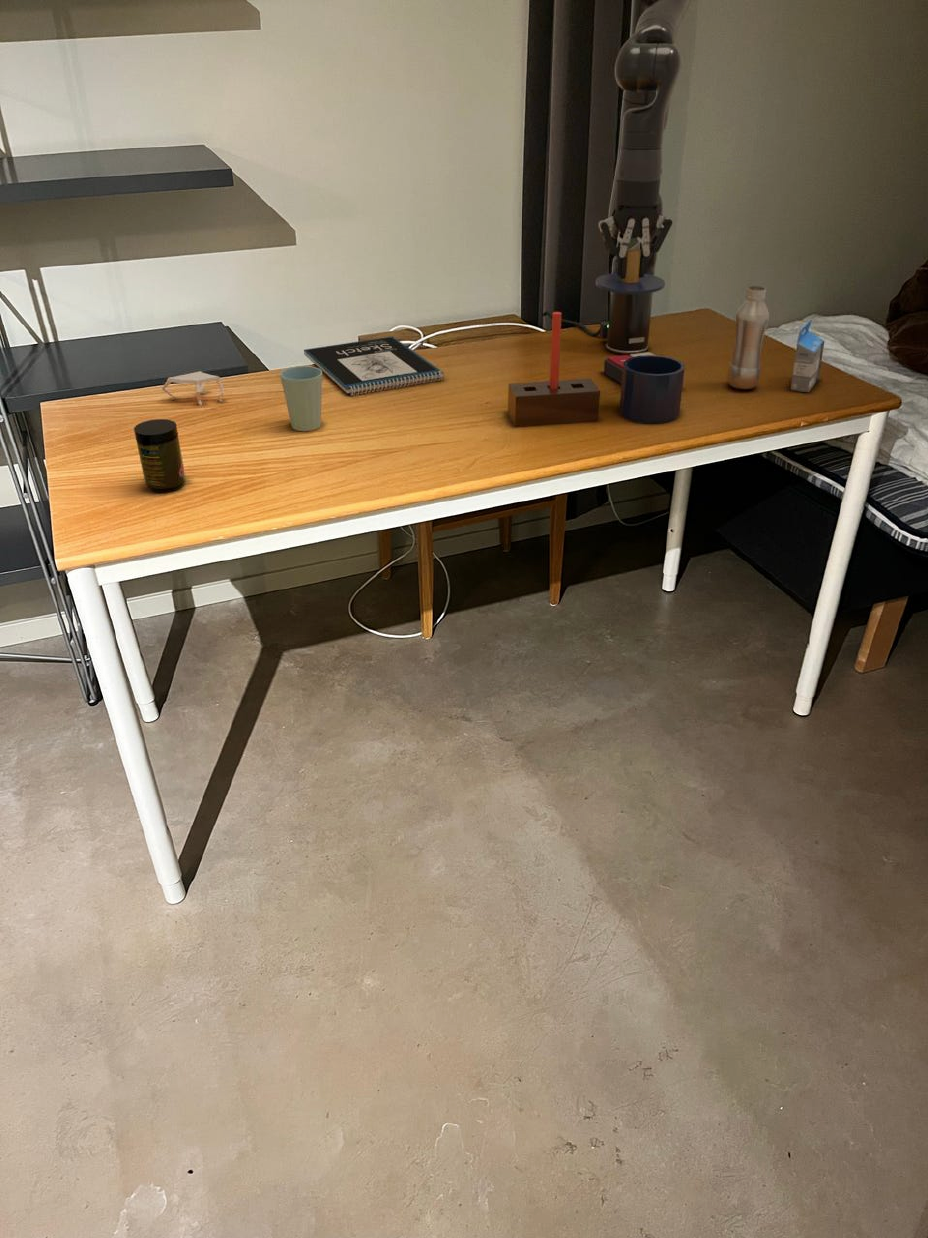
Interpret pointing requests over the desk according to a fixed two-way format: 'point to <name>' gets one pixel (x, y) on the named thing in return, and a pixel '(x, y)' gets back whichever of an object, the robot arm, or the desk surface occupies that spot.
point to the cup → (303, 396)
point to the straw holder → (553, 402)
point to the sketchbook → (372, 365)
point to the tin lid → (631, 278)
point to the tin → (651, 389)
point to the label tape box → (807, 360)
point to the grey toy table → (195, 379)
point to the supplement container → (160, 455)
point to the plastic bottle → (749, 339)
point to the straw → (555, 350)
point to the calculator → (618, 365)
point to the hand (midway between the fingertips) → (630, 276)
